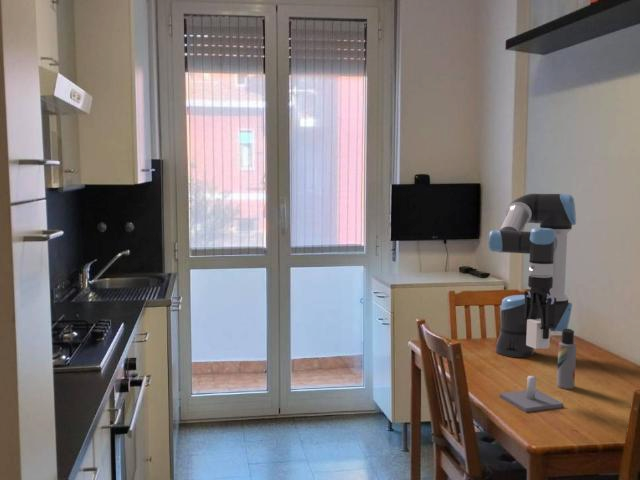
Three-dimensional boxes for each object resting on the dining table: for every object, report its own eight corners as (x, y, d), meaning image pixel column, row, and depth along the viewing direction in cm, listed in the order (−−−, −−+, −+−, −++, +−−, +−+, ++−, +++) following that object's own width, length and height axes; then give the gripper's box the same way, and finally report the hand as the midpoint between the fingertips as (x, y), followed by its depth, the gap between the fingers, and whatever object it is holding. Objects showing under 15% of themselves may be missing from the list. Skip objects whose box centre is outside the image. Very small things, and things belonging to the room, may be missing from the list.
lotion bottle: (574, 384, 226) (576, 328, 224) (574, 390, 221) (577, 332, 219) (556, 383, 228) (559, 327, 226) (556, 388, 223) (559, 331, 221)
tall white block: (526, 345, 215) (527, 319, 215) (539, 344, 217) (540, 318, 216) (535, 349, 211) (536, 322, 210) (549, 348, 212) (550, 322, 211)
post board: (499, 396, 214) (500, 372, 213) (535, 392, 219) (536, 368, 218) (525, 412, 201) (526, 386, 200) (563, 407, 205) (564, 381, 204)
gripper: (514, 272, 219) (511, 340, 221) (548, 280, 202) (545, 354, 204) (533, 271, 221) (530, 338, 224) (569, 279, 204) (565, 352, 206)
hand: (537, 345), depth 214 cm, fingers closed on tall white block, 5 cm apart
